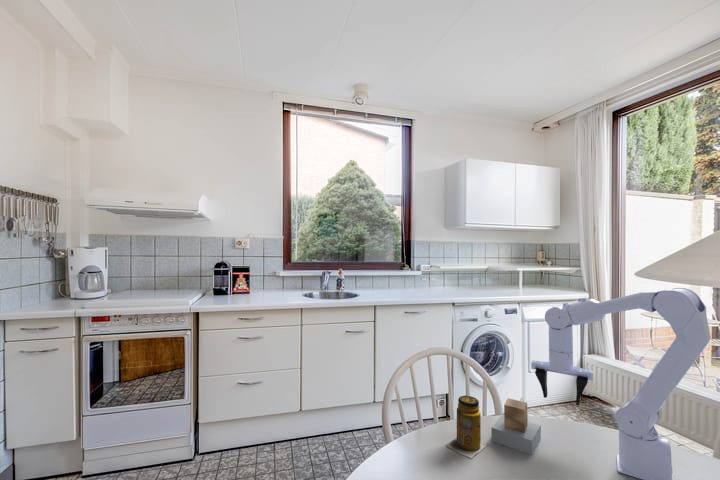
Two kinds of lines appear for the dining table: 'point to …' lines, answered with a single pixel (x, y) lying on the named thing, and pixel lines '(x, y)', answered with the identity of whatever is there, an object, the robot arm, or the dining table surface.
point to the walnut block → (515, 415)
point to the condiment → (468, 428)
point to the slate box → (517, 436)
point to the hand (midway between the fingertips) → (561, 400)
